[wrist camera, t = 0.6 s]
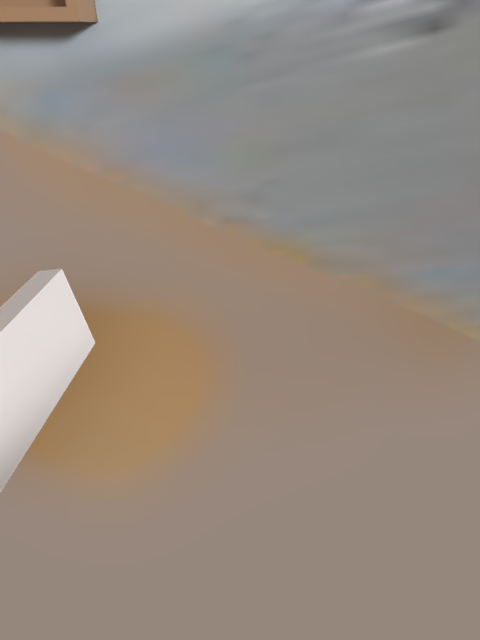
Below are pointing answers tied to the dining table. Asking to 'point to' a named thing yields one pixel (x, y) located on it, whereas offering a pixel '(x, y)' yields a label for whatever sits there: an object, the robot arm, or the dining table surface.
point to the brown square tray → (47, 11)
